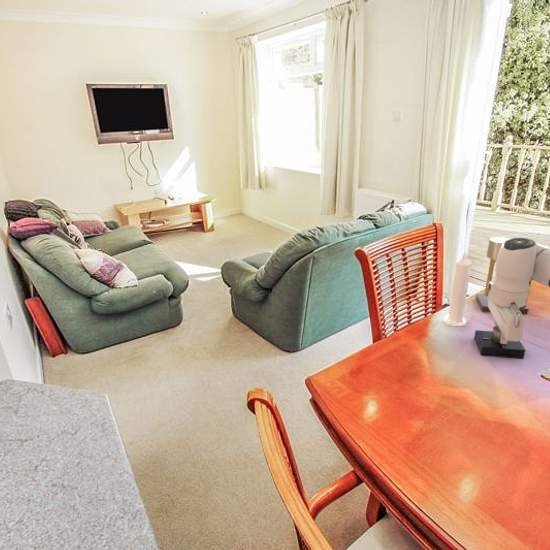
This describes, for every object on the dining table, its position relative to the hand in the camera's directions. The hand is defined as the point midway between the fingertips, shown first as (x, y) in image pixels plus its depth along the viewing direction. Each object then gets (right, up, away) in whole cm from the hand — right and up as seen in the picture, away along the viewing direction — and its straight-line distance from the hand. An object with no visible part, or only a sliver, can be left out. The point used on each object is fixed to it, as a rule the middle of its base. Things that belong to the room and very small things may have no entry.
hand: (499, 337), depth 110 cm
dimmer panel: (0, -4, +2) cm, 4 cm away
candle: (-5, +2, +16) cm, 17 cm away
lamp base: (+14, +7, +23) cm, 28 cm away
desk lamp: (+10, +11, +23) cm, 27 cm away
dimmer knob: (0, -1, 0) cm, 1 cm away
